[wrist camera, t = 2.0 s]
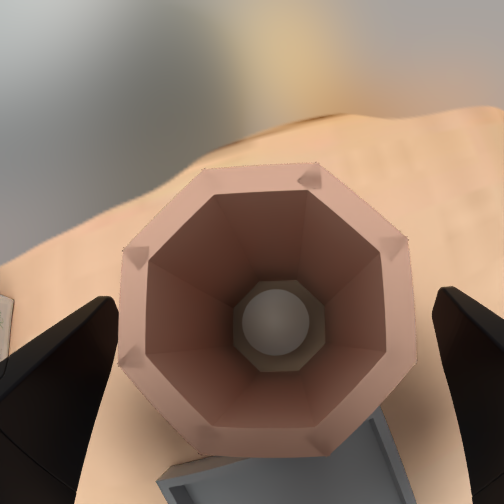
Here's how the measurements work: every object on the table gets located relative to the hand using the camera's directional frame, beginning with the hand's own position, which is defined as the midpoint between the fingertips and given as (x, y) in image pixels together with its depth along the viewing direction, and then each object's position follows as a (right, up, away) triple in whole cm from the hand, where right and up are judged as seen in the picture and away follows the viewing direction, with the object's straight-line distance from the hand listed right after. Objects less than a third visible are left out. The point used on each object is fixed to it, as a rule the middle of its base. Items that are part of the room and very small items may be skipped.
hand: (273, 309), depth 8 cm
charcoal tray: (+2, -13, +5) cm, 14 cm away
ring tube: (+1, -2, +7) cm, 7 cm away
